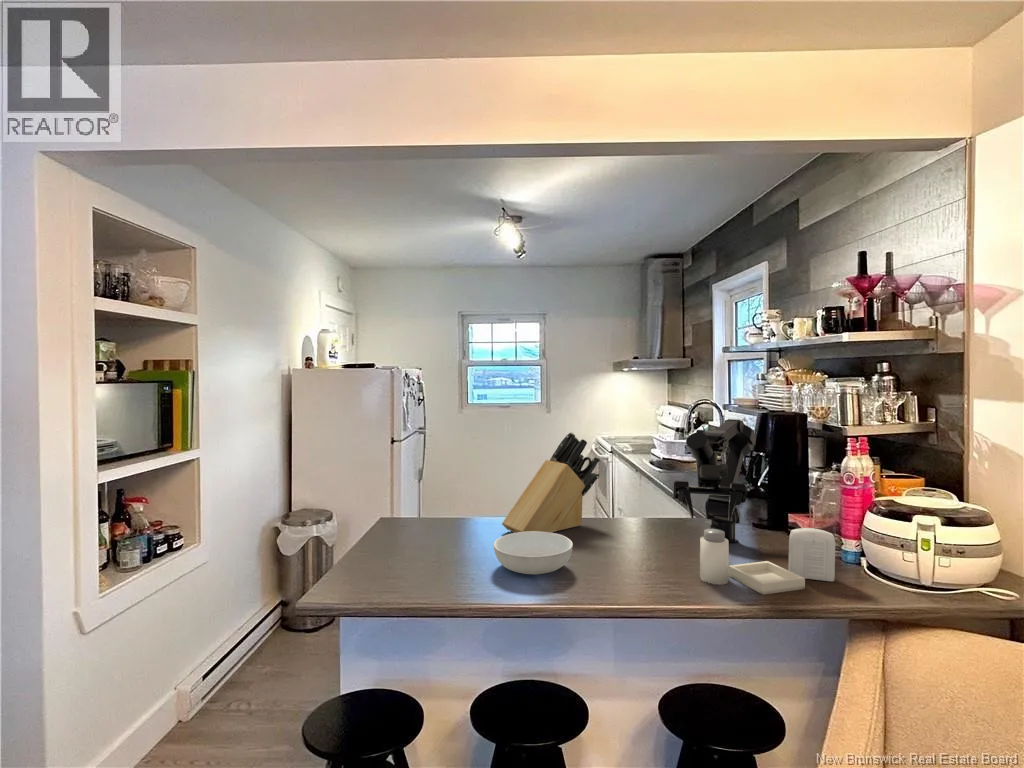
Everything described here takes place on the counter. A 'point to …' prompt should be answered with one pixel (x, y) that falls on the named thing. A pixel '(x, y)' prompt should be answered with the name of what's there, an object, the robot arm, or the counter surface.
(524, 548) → the serving bowl
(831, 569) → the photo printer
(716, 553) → the white bottle
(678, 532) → the counter surface
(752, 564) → the cream tray
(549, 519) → the knife block
